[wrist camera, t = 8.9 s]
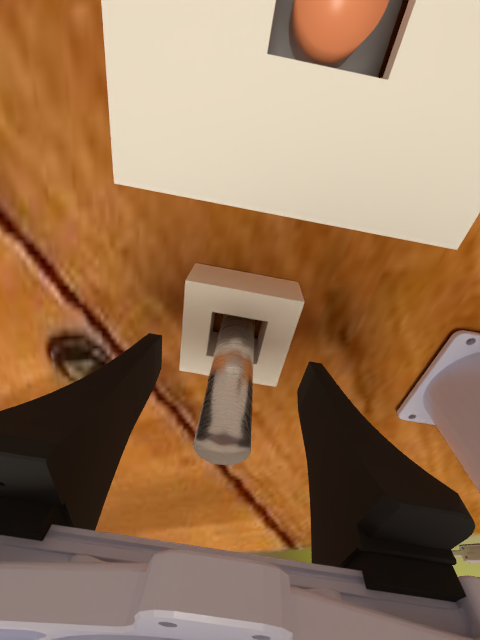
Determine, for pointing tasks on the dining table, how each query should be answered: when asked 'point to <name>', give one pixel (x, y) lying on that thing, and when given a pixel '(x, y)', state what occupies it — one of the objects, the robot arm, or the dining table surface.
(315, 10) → the button
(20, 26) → the dining table surface
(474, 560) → the caliper
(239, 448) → the stylus
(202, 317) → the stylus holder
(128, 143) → the white slotted stand
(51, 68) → the dining table surface
